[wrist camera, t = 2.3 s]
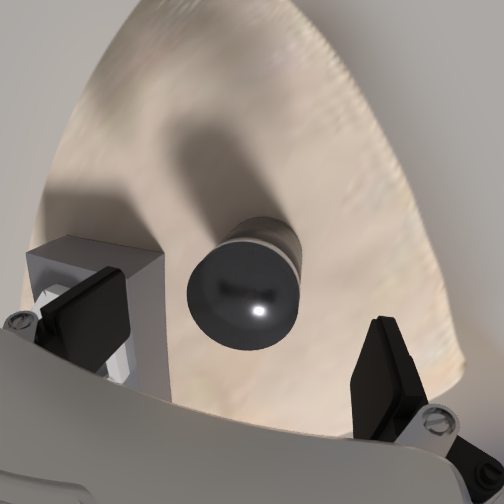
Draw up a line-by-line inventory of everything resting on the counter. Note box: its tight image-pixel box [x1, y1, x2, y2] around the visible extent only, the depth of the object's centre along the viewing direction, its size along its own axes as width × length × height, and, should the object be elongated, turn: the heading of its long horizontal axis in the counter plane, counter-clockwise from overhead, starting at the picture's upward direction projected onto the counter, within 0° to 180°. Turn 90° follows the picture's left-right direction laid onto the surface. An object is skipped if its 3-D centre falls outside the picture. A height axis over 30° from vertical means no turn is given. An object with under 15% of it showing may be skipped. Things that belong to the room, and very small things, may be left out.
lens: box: [187, 217, 302, 351], centre depth 16 cm, size 5×5×7 cm
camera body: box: [26, 235, 172, 403], centre depth 21 cm, size 16×10×6 cm, turn 174°
